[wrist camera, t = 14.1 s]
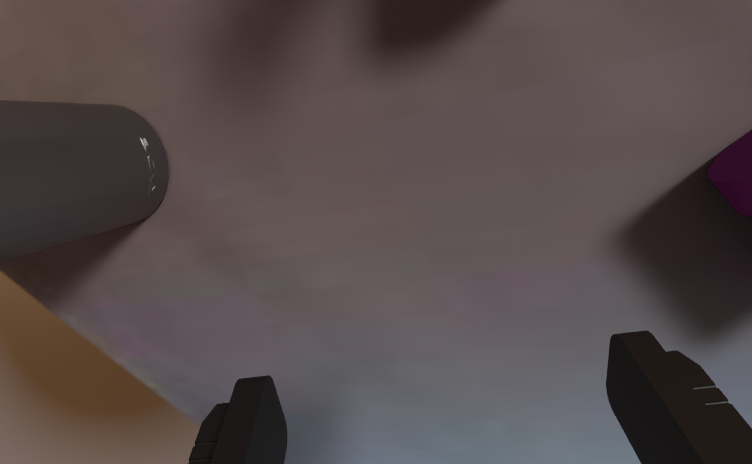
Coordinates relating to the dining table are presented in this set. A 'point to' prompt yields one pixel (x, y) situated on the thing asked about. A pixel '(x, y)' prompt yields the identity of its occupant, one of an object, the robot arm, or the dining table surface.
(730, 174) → the mounting bracket
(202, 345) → the dining table surface
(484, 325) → the dining table surface
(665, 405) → the robot arm
